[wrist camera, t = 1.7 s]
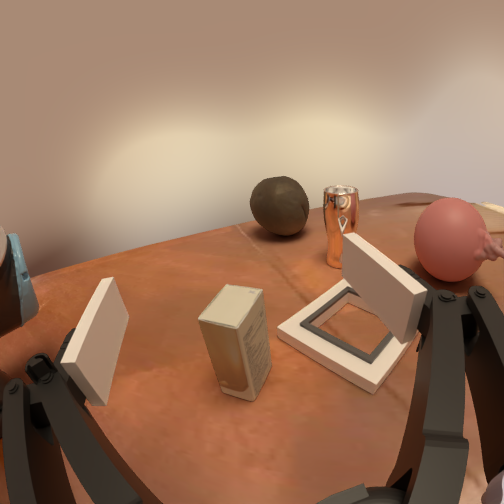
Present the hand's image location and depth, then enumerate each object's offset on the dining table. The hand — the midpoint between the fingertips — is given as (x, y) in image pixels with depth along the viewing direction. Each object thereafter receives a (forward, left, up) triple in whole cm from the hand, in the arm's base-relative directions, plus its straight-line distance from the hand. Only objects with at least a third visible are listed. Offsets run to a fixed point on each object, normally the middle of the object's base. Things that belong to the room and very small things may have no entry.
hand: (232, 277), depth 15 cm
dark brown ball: (-37, +39, -20) cm, 58 cm away
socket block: (-3, +20, -20) cm, 29 cm away
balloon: (+6, +43, -20) cm, 48 cm away
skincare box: (-8, +4, -20) cm, 22 cm away
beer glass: (-17, +36, -20) cm, 45 cm away
